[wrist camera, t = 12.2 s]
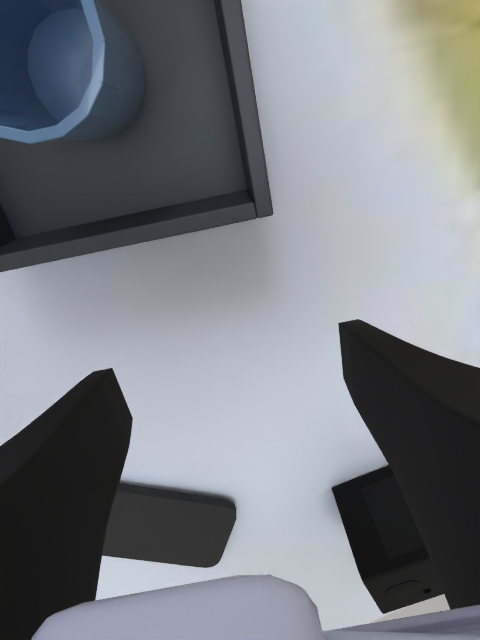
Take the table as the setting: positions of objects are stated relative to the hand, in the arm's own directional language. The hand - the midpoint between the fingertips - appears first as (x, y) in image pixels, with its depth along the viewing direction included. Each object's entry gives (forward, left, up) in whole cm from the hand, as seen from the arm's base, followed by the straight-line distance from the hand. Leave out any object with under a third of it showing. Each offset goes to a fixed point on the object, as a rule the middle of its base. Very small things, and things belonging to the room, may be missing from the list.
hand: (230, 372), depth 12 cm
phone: (-11, -18, -10) cm, 24 cm away
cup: (-4, +10, -10) cm, 15 cm away
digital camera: (+10, -20, -11) cm, 25 cm away
